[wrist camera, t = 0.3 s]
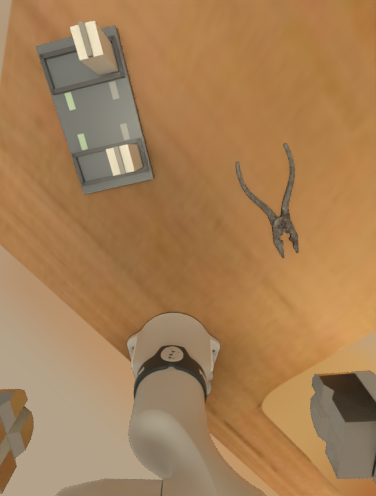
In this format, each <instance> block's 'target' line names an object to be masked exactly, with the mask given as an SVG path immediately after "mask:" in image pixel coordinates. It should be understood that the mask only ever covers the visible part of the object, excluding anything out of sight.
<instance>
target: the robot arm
mask: <svg viewBox="0 0 376 496" xmlns="http://www.w3.org/2000/svg"><path fill="white" fill-rule="evenodd" d="M127 346H128V350H129V354H130V358H131V368H132V369H133V373H134V376H135V384H134V405H133V410H132V415H131V420H130V425H129V434H128V435H129V442H130V445H131V448H132V450H133V452H134V454H135V455H136V457H137V458H138V460H139V461H140V462H141V464H142V465H144V466H145V467H146V468H147V469H148V470H150V471H152V472H153V473H154V474H156V475H158V476H159V477H161V478H162V479H163V480H143V479H101V480H97V481H91V482H86V483H82V484H78V485H74V486H70V487H66V488H63V489H62V490H61V491H60V492H58V494H56V495H55V496H266V495H265V494H264V493H263V492H262V491H261V490H260V489H258V488H256V487H255V486H253V485H251V484H250V483H249V482H247V481H246V480H245V479H243V478H242V477H241V476H240V475H239V474H238V473H236V472H235V471H234V470H233V469H232V468H231V467H230V466H229V464H228V463H227V462H226V461H225V460H224V459H223V457H222V456H221V454H220V453H219V451H218V450H217V448H216V447H215V445H214V443H213V441H212V439H211V436H210V433H209V429H208V423H207V417H206V409H205V402H206V398H207V394H210V392H211V382H209V380H211V381H212V379H213V373H212V371H213V367H214V364H215V361H216V358H217V355H218V352H219V349H220V342H219V341H218V340H217V339H215V338H214V337H212V336H211V335H209V334H208V332H207V331H206V330H205V328H204V327H203V325H202V324H201V323H200V322H198V321H197V320H196V319H194V318H193V317H191V316H188V315H185V314H181V313H166V314H161V315H159V316H156V317H154V318H152V319H151V320H150V321H148V322H147V323H146V324H145V325H144V327H143V328H142V329H141V330H140V331H139V332H138V333H136V334H134V335H132V336H131V337H129V338H128V341H127ZM133 347H134V348H133ZM212 350H214V351H212ZM312 387H313V389H314V391H315V394H314V395H313V396H312V398H311V402H310V403H311V404H310V409H311V417H312V421H313V424H314V428H315V430H316V432H317V435H318V436H319V437H320V438H321V439H322V440H324V441H325V442H326V452H325V453H326V455H327V457H328V459H329V461H330V464H331V466H332V468H333V470H334V472H335V474H336V477H337V479H348V478H349V479H352V478H353V479H355V478H373V481H374V482H375V483H376V375H375V373H373V372H372V371H355V372H344V373H343V372H342V373H325V374H315V375H314V376H313V379H312ZM27 400H28V399H27V396H26V393H25V391H24V390H21V389H4V390H0V494H1V493H3V491H4V489H5V487H6V485H7V484H8V482H9V480H10V478H11V476H12V474H13V472H14V470H15V469H16V467H17V466H16V460H15V458H16V457H17V456H19V455H20V454H21V453H22V452H23V451H24V450H26V447H27V446H28V443H29V442H30V440H31V436H32V432H33V416H32V413H31V411H30V410H28V409H27V408H26V407H25V406H24V405H25V404H26V402H27Z"/></svg>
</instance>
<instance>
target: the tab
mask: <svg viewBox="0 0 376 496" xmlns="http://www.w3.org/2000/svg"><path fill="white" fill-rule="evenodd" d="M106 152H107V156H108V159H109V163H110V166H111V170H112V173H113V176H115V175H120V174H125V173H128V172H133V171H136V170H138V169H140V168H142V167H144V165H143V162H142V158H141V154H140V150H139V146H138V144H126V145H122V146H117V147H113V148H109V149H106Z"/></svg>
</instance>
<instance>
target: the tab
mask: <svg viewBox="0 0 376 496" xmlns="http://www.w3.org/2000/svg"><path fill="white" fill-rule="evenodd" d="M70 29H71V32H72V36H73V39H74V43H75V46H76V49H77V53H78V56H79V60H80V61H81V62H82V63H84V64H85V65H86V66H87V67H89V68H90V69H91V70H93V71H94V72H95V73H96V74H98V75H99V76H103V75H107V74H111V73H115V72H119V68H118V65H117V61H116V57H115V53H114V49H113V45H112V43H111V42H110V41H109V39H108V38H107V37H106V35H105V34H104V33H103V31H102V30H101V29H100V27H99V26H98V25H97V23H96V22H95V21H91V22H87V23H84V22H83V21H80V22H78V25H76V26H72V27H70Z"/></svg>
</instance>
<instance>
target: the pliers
mask: <svg viewBox="0 0 376 496" xmlns="http://www.w3.org/2000/svg"><path fill="white" fill-rule="evenodd" d="M283 146H284V148H285V150H286V153H287V155H288V159H289V164H290V177H289V182H288V185H287V189H286V192H285V195H284V198H283V202H282V208H281V216H280V217H277V216H276V215H275V214H274V212H273V211H272V210H271V209H270V208H269V207H268V206H267V205H265V204H264V203H263V202H262V201H260V200H259V199H258V198H257V197H255V196H254V195H253V194H252V193H251V192H250V191H249V190H248V188H247V187H246V185H245V183H244V181H243V179H242V176H241V172H240V165H239V162H236V171H237V176H238V179H239V182H240V184H241V187H242V189H243V190H244V192H245V193H246V195H247V196H248V197H249V198H250V199H251V200H252V201H253V202H254V203H255V204H257V205H258V206H259V207H260V208H261V209H262V210H263V211H264V212H265V213H266V215H267V216H268V218H269V220H270V223H271V225H272V230H273V240H274V244H275V246H276V248H277V249H278V251H279V253H280V254H281V256H282V257H283V258H284V250H283V248H282V245H283V241H282V240H280V239H279V238H280V236H281V235H283V232H286V233H290V237H289V240H290V241H292V242H293V247H294V249H295V251H296V252H297V253H299V251H298V235H297V233H296V231H295V229H294V227H293V225H292V222H291V220H290V214H289V209H288V207H289V200H290V196H291V191H292V187H293V183H294V177H295V168H294V162H293V157H292V154H291V151H290V149H289V147H288V145H287V144H286V143H284V145H283Z"/></svg>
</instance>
